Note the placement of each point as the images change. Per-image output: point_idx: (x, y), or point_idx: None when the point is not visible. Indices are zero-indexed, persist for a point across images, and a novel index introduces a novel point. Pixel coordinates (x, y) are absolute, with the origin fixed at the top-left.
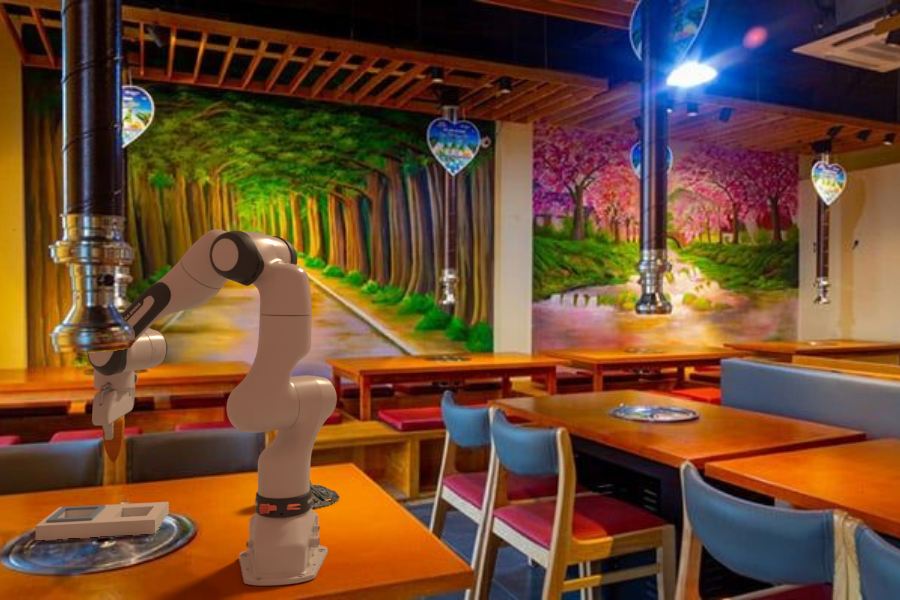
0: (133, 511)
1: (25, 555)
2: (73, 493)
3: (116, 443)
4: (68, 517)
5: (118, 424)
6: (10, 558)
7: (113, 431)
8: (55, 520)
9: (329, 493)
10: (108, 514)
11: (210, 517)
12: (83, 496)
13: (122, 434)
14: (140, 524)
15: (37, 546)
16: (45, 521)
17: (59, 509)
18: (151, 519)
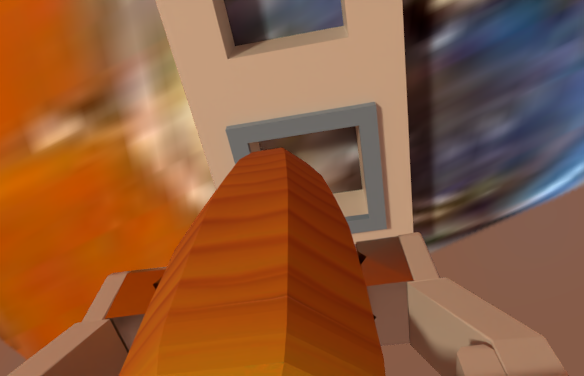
0: (219, 12)
1: (515, 181)
2: (15, 306)
3: (321, 195)
4: (366, 181)
5: (338, 322)
6: (528, 203)
7: (410, 283)
8: (383, 206)
9: None
10: (310, 74)
11: None
12: (29, 274)
13: (269, 209)
14: None
15: (447, 186)
16: (374, 231)
17: None
18: None
